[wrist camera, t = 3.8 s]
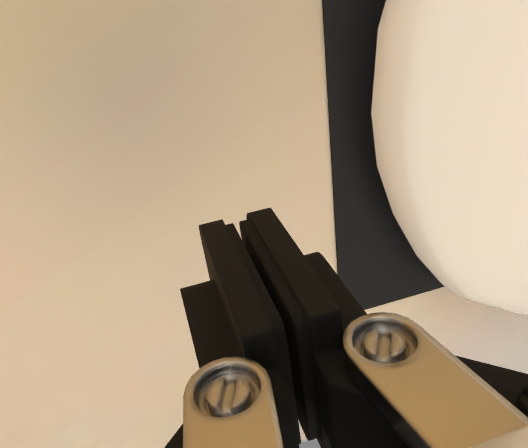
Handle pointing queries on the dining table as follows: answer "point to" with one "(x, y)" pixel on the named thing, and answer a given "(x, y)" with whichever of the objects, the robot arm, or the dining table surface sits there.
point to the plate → (457, 140)
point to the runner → (363, 165)
